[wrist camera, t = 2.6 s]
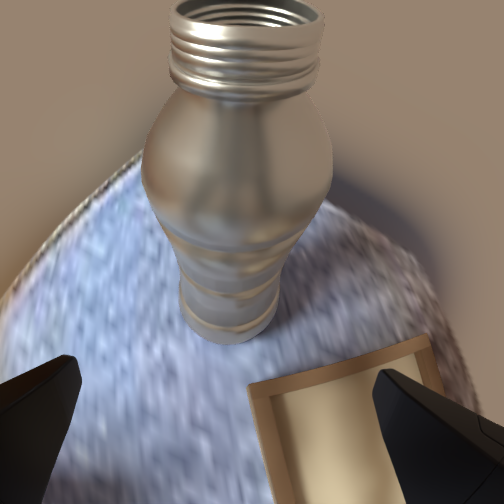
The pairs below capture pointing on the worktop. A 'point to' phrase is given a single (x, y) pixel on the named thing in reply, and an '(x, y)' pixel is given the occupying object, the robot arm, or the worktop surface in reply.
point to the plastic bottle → (237, 156)
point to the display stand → (334, 428)
